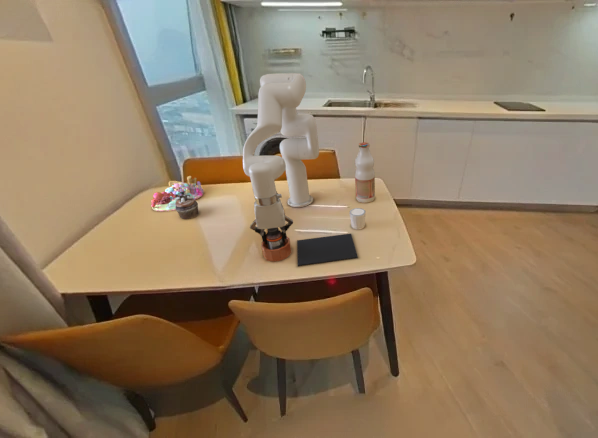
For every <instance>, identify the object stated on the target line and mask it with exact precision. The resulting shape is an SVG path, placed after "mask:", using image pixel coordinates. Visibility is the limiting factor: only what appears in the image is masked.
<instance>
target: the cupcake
mask: <svg viewBox="0 0 598 438" xmlns="http://www.w3.org/2000/svg"><path fill="white" fill-rule="evenodd" d="M176 200H177V201H176V203H175V205H176V210H175V211H176V213H177V214H178V216H179V217H180V218H181V219H182V220H191V219H193V218H196V217H197V216H198V215H199V212H200V211H199V202H197V201H196V200H197V199H195V200H194V199H193V197H192V196H190V195H187V194H186V193H185V194H183V195H181V196H177V198H176Z"/></svg>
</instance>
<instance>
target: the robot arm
mask: <svg viewBox="0 0 598 438" xmlns="http://www.w3.org/2000/svg"><path fill="white" fill-rule="evenodd" d="M259 86H260V87H259V89H258V94H257V95H258V96H257V124H256V127H255V128H254V129H252V131H251V132H250V133H249V134H248V136H247V138H246V140H245V142H244V144H243V147H242V148H243V149H242V169H243V172H244V174H245V175H246V176H247V177H249V179H250V183H251V189H252V192H253V196H254V202H253V208H254V209H253V212H254V220H253V221H252V223H251V224H250V225H249V229H250V230H252V231H254V232H255V233H257V234H258V235H260V236H261V240H262V241H263V242H265V245H266V244H267V240H266V234H267V231H265V230H267V229H270V228H278V229H279V230H280V231H281V232H282V239H283V242H285V239H287V237H288V236H287V231H288V230H289V229H290V228H291V226H292V225H293V224H294V220H293V219H292V218H291V217H288V216H287V215H286V213H285V209H284V205H283V202H282V200H281V199H282V198H283V196H282V193H279V192H278V191H277V187H276V182H275V181H276V180H277V179H279V178H280V177H282V176H283V174H284V173H285V175H286V182H287V188H288V193H289V194H288V195H289V197H288V199H287V201H286V202H287V205H288V206H290V207H292V208H303V207H306V206H309V205H311V204H312V203H313V202H314V196H312V194H311V195H310V190H309V181H308V180H309V179H308V173H307V167H306V165H305V163H304V162H303V161H305V160H307V161H308V160H316V159H318V158H319V156H320V144H319V135H318V128H317V123H316V119H315V117H314V116H313V114H311V113H298V111H297V108H298V107H299V106H300V105H301V103H302V100H303V98H304V96H305V93H306V90H307V83H306V80H305V77H304V75H303V74H302V73H300V72H286V73H285V72H282V73H281V72H280V73H279V72H277V73H266V74H263V75H262V76H260V78H259ZM279 133H280V134H281V135H282V136H284V137H287V138H285V139H282V140H281V142H280V143H279V152H280V154H281V156H280V155H275V154H274V155H255V153H256V150H257V148H258V146H259V145H261V143H263V142H264V141H265V140H267V139H269V138H271V137H272V136H275V135H277V134H279ZM286 222H287V223H286Z"/></svg>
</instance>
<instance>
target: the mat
mask: <svg viewBox="0 0 598 438" xmlns="http://www.w3.org/2000/svg"><path fill="white" fill-rule="evenodd" d="M296 252H297V255H296V257H297V258H296V259H297V267H305V266H311V265H319V264H326V263H332V262H340V261H348V260H354V259H359V256H358V253H357V249H356V245H355V242H354V239H353V236H352V233H344V234H336V235H329V236H321V237H313V238H305V239H297V240H296Z"/></svg>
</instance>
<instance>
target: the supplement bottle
mask: <svg viewBox="0 0 598 438" xmlns="http://www.w3.org/2000/svg"><path fill="white" fill-rule="evenodd" d="M266 240H267V244H268V248H269V249H271V250H273V249H279V248H281V247H284V242H283V239H282V230H281V229H280V228H279V227H278V228H270V229H266Z"/></svg>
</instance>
